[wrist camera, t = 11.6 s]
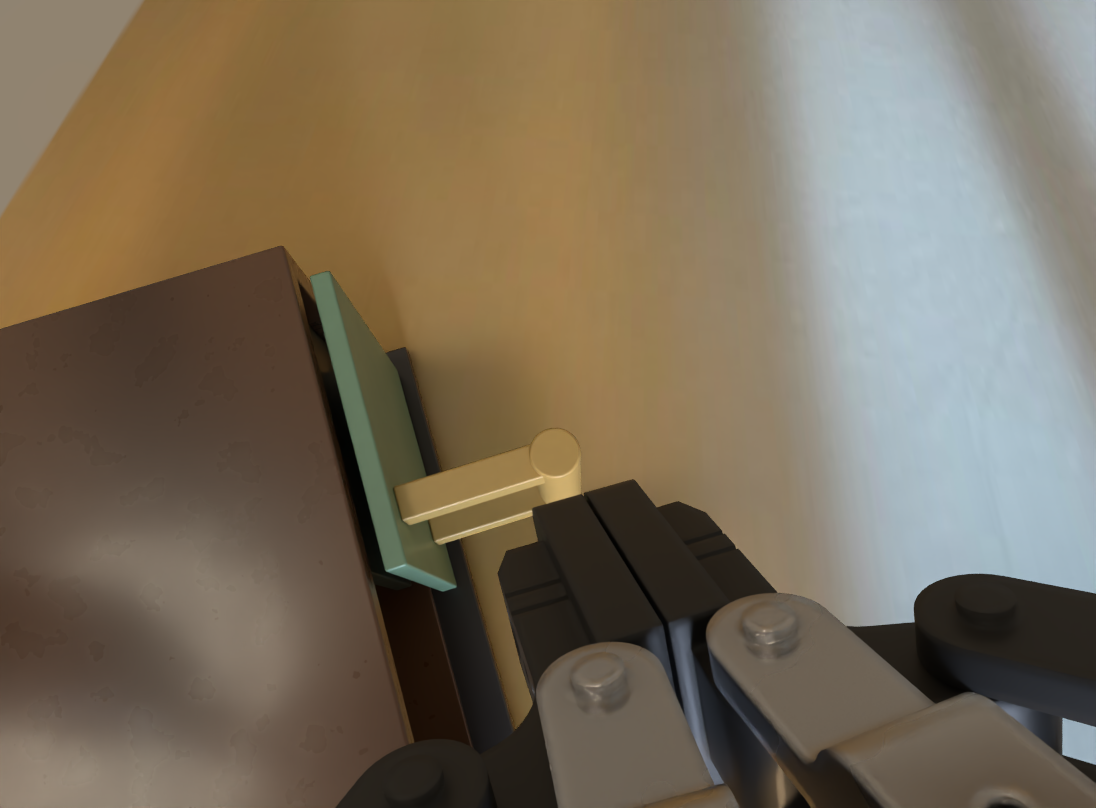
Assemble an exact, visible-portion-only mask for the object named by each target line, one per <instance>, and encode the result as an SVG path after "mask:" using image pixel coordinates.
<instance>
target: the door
mask: <svg viewBox="0 0 1096 808" xmlns="http://www.w3.org/2000/svg"><path fill="white" fill-rule="evenodd" d="M310 280H311V284H312V288H313V292H314V296H315V300H316V304H317V308H318V312H319V315H320V319H321V323H322V327H323V331H324V335H325V339H326V343H327V347H328V350H329V354H330V358H331V362H332V366H333V370H334V374H335V378H336V381H337V385H338V389H339V393H340V397H341V401H342V405H343V409H344V413H345V416H346V420H347V424H348V428H349V432H350V436H351V440H352V444H353V448H354V451H355V455H356V459H357V463H358V467H359V471H360V475H361V479H362V482H363V486H364V490H365V494H366V498H367V502H368V506H369V510H370V514H371V517H372V521H373V525H374V529H375V533H376V537H377V541H378V545H379V549H380V552H381V556H382V560H383V564H384V568H385V570H386V572H389V573H392V574H395V575H397V576H400V577H403V578H406V579H409V580H411V581H414V582H417V583H420V584H423V585H425V586H428V587H431V588H434V589H437V590H439V591H446V590H449V589H453V588H456V587H457V584H456V580H455V577H454V573H453V570H452V566H451V562H450V559H449V555H448V551H447V548H446V544H445V543H447V542H451V541H454V540H457V539H460V538H463V537H467V536H470V535H473V534H476V533H479V532H483V531H486V530H489V529H492V528H495V527H498V526H502V525H505V524H508V523H511V522H514V521H518V520H521V519H524V518H527V517H530V516H533V514H532V508H533V507H537V506H540V505H544V504H547V503H551V502H554V501H558V500H561V499H565V498H568V497H572V496H576V495H579V494H581V450H580V445H579V443H578V441H577V439H576V438H575V437H574V436H573V435H572V434H571V433H570V432H568V431H567V430H564V429H561V428H550V429H546V430H544V431H542V432H540V433H539V434H538V435H537V436H536V437H535V438H534V439H533V441H532V443H531V444H530V445H526V446H523V447H520V448H517V449H514V450H510V451H507V452H504V453H501V454H497V455H494V456H491V457H488V458H484V459H481V460H478V461H475V462H472V463H468V464H465V465H462V466H459V467H455V468H452V469H449V470H446V471H443V472H439V473H436V474H433V475H430V476H426V472H425V468H424V465H423V461H422V458H421V454H420V450H419V447H418V443H417V440H416V436H415V432H414V429H413V425H412V422H411V418H410V414H409V411H408V407H407V403H406V400H405V396H404V393H403V389H402V385H401V382H400V378H399V375H398V371H397V369H396V368H395V366H394V365H393V363H392V362H391V360H390V359H389V357H388V356H387V354H386V353H385V352H384V350H383V349H382V347H381V346H380V344H379V343H378V341H377V340H376V338H375V337H374V335H373V334H372V332H371V331H370V330H369V328H368V327H367V325H366V324H365V322H364V321H363V319H362V318H361V316H360V315H359V313H358V312H357V310H356V309H355V308H354V306H353V305H352V303H351V302H350V300H349V299H348V297H347V296H346V294H345V293H344V291H343V290H342V289H341V287H340V286H339V284H338V283H337V281H336V280H335V278H334V277H333V275H332V274H331V272H330V271H325V272H322V273H319V274H315V275H312V276H310Z"/></svg>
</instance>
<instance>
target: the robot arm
mask: <svg viewBox="0 0 1096 808" xmlns="http://www.w3.org/2000/svg"><path fill="white" fill-rule="evenodd" d="M532 514H533V520H534V525H535V529H536V534H537V538H538V542H536V543H532V544H529V545H525V546H522V547H518V548H515V549H511V550H508V551H506V553H505V556H504V558H503V561H502V563H501V566H500V569H499V571H498V577H499V581H500V585H501V589H502V592H503V596H504V600H505V604H506V608H507V612H508V616H509V620H510V624H511V628H512V632H513V636H514V640H515V644H516V648H517V652H518V656H519V660H520V664H521V667H522V670H523V673H524V676H525V679H526V682H527V686H528V688H529V692H530V695H531V698H532V701H533V705H532V707H531V709H530V712H529V714H528V715H527V717H526V718H525V720H524V721H523V722H522V723H521V725H520V726H519V727H518V728H517V729H516V730H515V731H514V732H513V733H511V734H510V735H509V736H508V737H507V738H505V739H504V740H502V741H501V742H500V743H498V744H497V745H495V746H493V747H492V748H490V749H488V750H487V751H485V752H483V753H482V754H479V753H478V752H477V751H476V750H474V749H473V748H472V747H471V746H468V745H466V744H464V743H462V742H459V741H455V740H448V739H430V740H424V741H419V742H415V743H412V744H408V745H406V746H403V747H401V748H398V749H396V750H394V751H392V752H390V753H389V754H387V755H385V756H384V757H382V758H381V759H379V760H378V761H376V762H375V763H374V764H373V765H372V766H370V767H369V768H368V769H367V770H366V771H365V772H364V773H363V774H362V775H361V777H360V778H359V779H358V780H357V781H356V783H355V784H354V785H353V786H352V787H351V789H350V790H349V791H348V792H347V794H346V795H345V796H344V797H343V799H342V800H341V801H340V802H339V804H338V805H337V806H336V807H335V808H1096V765H1094V764H1091V763H1087V762H1084V761H1081V760H1077V759H1074V758H1070V757H1067V756H1064V755H1062V718H1066V719H1069V720H1073V721H1077V722H1080V723H1084V724H1087V725H1091V726H1095V727H1096V594H1095V593H1090V592H1084V591H1079V590H1074V589H1069V588H1063V587H1058V586H1053V585H1048V584H1042V583H1037V582H1032V581H1027V580H1021V579H1016V578H1011V577H1006V576H999V575H992V574H966V575H957V576H953V577H948V578H945V579H942V580H939V581H937V582H935V583H933V584H931V585H929V586H927V587H926V588H925V589H924V590H922V591H921V593H920V594H919V595H918V596H917V598H916V600H915V603H914V619H915V622H913V623H901V624H890V625H878V626H862V627H852V626H845V625H844V624H843V623H842V622H840V621H839V620H838V619H837V618H836V617H835V616H834V615H832V614H831V613H830V612H829V611H828V610H827V609H825V608H824V607H823V606H821V605H820V604H818V603H816V602H814V601H812V600H810V599H807V598H805V597H802V596H797V595H793V594H785V593H777V591H776V590H775V589H774V588H773V587H772V586H771V585H770V584H769V583H768V581H767V580H766V579H765V578H764V577H763V576H762V575H761V574H760V573H759V571H758V570H757V569H756V568H755V567H754V566H753V565H752V564H751V562H750V561H749V560H748V559H747V558H746V557H745V556H744V555H743V554H742V552H741V551H740V550H739V549H736V548H735V545H734V544H733V542H732V541H731V540H730V539H729V538H728V537H727V536H726V535H725V534H723V533H722V530H721V529H720V528H719V527H718V526H717V525H716V523H715V522H714V521H713V520H712V519H711V518H710V517H709V516H708V515H707V513H705V512H703V511H701V510H698V509H696V508H693V507H691V506H688V505H686V504H684V503H681V502H679V501H678V502H674V503H671V504H667V505H664V506H660V507H657V508H656V506H655V505H654V504H653V503H652V501H651V500H650V499H649V498H648V496H647V495H646V494H645V492H644V491H643V490H642V489H641V487H640V486H639V485H638V483H637V482H636V481H635V480H633V479H632V480H628V481H625V482H621V483H618V484H614V485H610V486H607V487H603V488H600V489H596V490H593V491H589V492H586V493H584V497H583V495H582V494H579V495H576V496H572V497H568V498H565V499H561V500H558V501H554V502H551V503H547V504H544V505H540V506H537V507H533V508H532Z"/></svg>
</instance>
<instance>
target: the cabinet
mask: <svg viewBox="0 0 1096 808" xmlns="http://www.w3.org/2000/svg"><path fill="white" fill-rule="evenodd" d="M386 354H387V356H388V357H389V359H390V360H391V362H392V363H393V365H394V366H395V368H396V369H397V371H398V375H399V378H400V382H401V385H402V389H403V393H404V396H405V400H406V403H407V407H408V411H409V414H410V418H411V422H412V425H413V429H414V432H415V436H416V440H417V443H418V447H419V450H420V454H421V458H422V461H423V465H424V468H425V472H426V476H430V475H433V474H436V473H439V472H442V469H441V466H440V462H439V459H438V455H437V452H436V448H435V445H434V441H433V438H432V434H431V430H430V427H429V423H428V420H427V416H426V413H425V409H424V406H423V402H422V399H421V395H420V391H419V388H418V384H417V381H416V377H415V374H414V370H413V367H412V363H411V360H410V356H409V352H408V351H407V349H406V348H405V347H403V348H400V349H396V350H393V351H390V352H387V353H386ZM445 544H446V548H447V551H448V555H449V559H450V562H451V566H452V570H453V573H454V577H455V580H456V584H457V587H456V588H453V589H449V590H446V591H439V590H437V589H434V588H431V587H428V586H425V585H423V584H420V583H417V582H414V581H411V580H409V579H406V578H403V577H400V576H397V575H395V574H392V573H389V572H386V570H385V568H384V564H383V560H382V556H381V552H380V549H379V545H378V541H377V537H376V533H375V529H374V525H373V521H372V517H371V514H370V510H369V506H368V502H367V498H366V494H365V490H364V486H363V482H362V479H361V475H360V471H359V467H358V463H357V459H356V455H355V451H354V448H353V444H352V440H351V436H350V432H349V428H348V424H347V420H346V416H345V413H344V409H343V405H342V401H341V397H340V393H339V389H338V385H337V381H336V378H335V374H334V370H333V366H332V362H331V358H330V354H329V350H328V347H327V343H326V339H325V335H324V331H323V327H322V323H321V319H320V315H319V312H318V308H317V304H316V300H315V296H314V292H313V288H312V284H311V282H310V281H309V279H308V278H307V277H306V275H305V274H304V273H303V271H302V270H301V269H300V268H299V266H298V265H297V264H296V262H295V261H294V260H293V258H292V257H291V256H290V254H289V253H288V252H287V250H286V249H285V248H284V247H283V246H278V247H275V248H271V249H268V250H265V251H261V252H258V253H255V254H251V255H248V256H244V257H241V258H238V259H234V260H231V261H228V262H224V263H221V264H218V265H214V266H211V267H207V268H204V269H201V270H197V271H194V272H191V273H187V274H184V275H181V276H177V277H174V278H170V279H167V280H164V281H160V282H157V283H154V284H150V285H147V286H143V287H140V288H137V289H133V290H130V291H127V292H123V293H120V294H117V295H113V296H110V297H106V298H103V299H100V300H96V301H93V302H90V303H86V304H83V305H80V306H76V307H73V308H69V309H66V310H63V311H59V312H56V313H53V314H49V315H46V316H42V317H39V318H36V319H32V320H29V321H26V322H22V323H19V324H16V325H12V326H9V327H5V328H2V329H0V808H335V807H336V806H337V805H338V804H339V802H340V801H341V800H342V799H343V797H344V796H345V795H346V794H347V792H348V791H349V790H350V789H351V787H352V786H353V785H354V784H355V783H356V781H357V780H358V779H359V778H360V777H361V775H362V774H363V773H364V772H365V771H366V770H367V769H368V768H369V767H370V766H372V765H373V764H374V763H375V762H376V761H378V760H379V759H381V758H382V757H384V756H385V755H387V754H389V753H390V752H392V751H394V750H396V749H398V748H401V747H403V746H406V745H408V744H412V743H415V742H419V741H424V740H430V739H448V740H455V741H459V742H462V743H464V744H466V745H468V746H471V747H472V748H473V749H474V750H476V751H477V752H478V753H479V754H482V753H483V752H485V751H487V750H488V749H490V748H492V747H493V746H495V745H497V744H498V743H500V742H501V741H502V740H504V739H505V738H507V737H508V736H509V735H510V734H511V733H513V732H514V731H515V728H514V725H513V721H512V718H511V714H510V711H509V707H508V703H507V700H506V696H505V693H504V689H503V686H502V682H501V679H500V675H499V672H498V668H497V664H496V661H495V657H494V654H493V650H492V647H491V643H490V640H489V636H488V633H487V629H486V625H485V622H484V618H483V615H482V611H481V608H480V604H479V601H478V597H477V594H476V590H475V586H474V583H473V579H472V576H471V572H470V569H469V565H468V562H467V558H466V555H465V551H464V547H463V544H462V540H461V538H460V539H457V540H454V541H451V542H447V543H445Z"/></svg>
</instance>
